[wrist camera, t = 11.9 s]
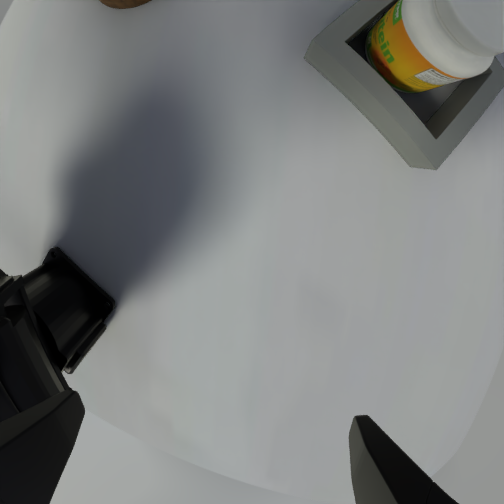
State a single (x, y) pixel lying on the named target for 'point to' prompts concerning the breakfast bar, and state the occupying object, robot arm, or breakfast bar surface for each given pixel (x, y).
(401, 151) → the grey square frame
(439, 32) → the supplement bottle
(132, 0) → the brown chess piece
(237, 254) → the breakfast bar surface
